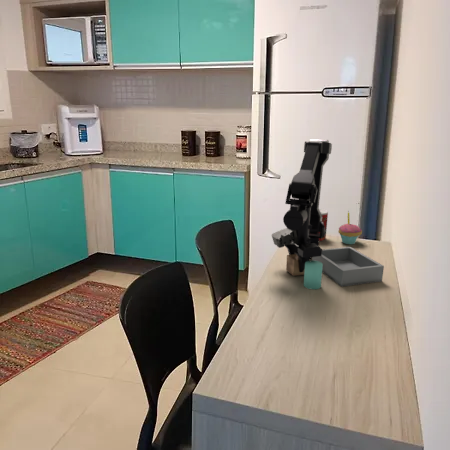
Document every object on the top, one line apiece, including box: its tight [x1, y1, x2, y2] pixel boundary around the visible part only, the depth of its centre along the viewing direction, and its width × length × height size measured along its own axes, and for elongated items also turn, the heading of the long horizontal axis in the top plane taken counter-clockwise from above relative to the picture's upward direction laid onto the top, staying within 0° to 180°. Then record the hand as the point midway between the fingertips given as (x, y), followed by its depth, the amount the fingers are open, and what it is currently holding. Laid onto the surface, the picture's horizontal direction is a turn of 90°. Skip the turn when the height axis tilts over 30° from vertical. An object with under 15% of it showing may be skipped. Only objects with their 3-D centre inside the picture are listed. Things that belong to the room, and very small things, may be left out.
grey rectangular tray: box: [311, 246, 385, 288], centre depth 140 cm, size 18×14×5 cm
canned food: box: [319, 208, 329, 242], centre depth 172 cm, size 8×8×11 cm
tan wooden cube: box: [285, 254, 305, 277], centre depth 139 cm, size 5×5×5 cm
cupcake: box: [338, 210, 363, 245], centre depth 168 cm, size 9×8×12 cm
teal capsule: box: [303, 260, 323, 290], centre depth 129 cm, size 5×5×7 cm
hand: (297, 268), depth 139 cm, fingers closed on tan wooden cube, 5 cm apart
